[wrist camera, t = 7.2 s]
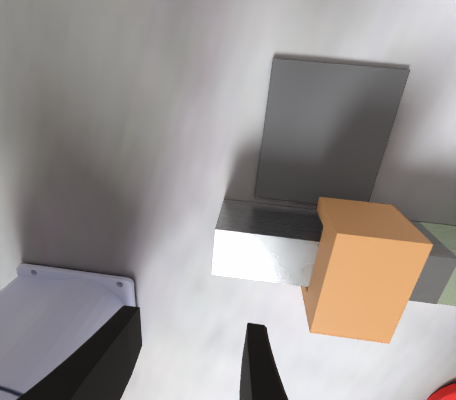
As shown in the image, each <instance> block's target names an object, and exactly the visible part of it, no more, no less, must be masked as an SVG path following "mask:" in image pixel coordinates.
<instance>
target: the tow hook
mask: <svg viewBox="0 0 456 400" xmlns="http://www.w3.org/2000/svg"><path fill="white" fill-rule="evenodd" d="M428 400H456V383H453V384H450V385H448V386H446V387H443V388H441V389H439V390H438V391H437V392H435V393H434V394H432V395H431V396H430V398H429V399H428Z"/></svg>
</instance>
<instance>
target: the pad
mask: <svg viewBox="0 0 456 400" xmlns="http://www.w3.org/2000/svg"><path fill="white" fill-rule="evenodd" d="M409 72H410V70H405V69H394V68H382V67H370V66H358V65H346V64H335V63H323V62H311V61H299V60H287V59H276V58H273V62H272V69H271V77H270V85H269V92H268V100H267V107H266V115H265V123H264V130H263V138H262V146H261V153H260V161H259V168H258V176H257V184H256V191H255V197H261V198H269V199H278V200H287V201H295V202H304V203H313V204H318V200H319V197H326V198H335V199H344V200H354V201H363V202H368V201H369V198H370V195H371V192H372V189H373V186H374V183H375V179H376V176H377V173H378V170H379V167H380V164H381V160H382V157H383V154H384V151H385V148H386V145H387V141H388V138H389V135H390V132H391V129H392V126H393V122H394V119H395V116H396V113H397V110H398V107H399V103H400V100H401V97H402V94H403V91H404V88H405V84H406V81H407V78H408V75H409Z"/></svg>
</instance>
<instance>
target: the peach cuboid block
mask: <svg viewBox="0 0 456 400" xmlns="http://www.w3.org/2000/svg"><path fill="white" fill-rule="evenodd" d="M316 210H317V212H318V215H319V217H320V219H321V222H322V224H323V231H322V235H321V239H320V243H319V247H318V251H317V255H316V259H315V263H314V267H313V271H312V275H311V279H310V283H309V287H305V286H301V289H302V294H303V300H304V305H305V310H306V315H307V320H308V325H309V330H310V333H316V334H323V335H331V336H338V337H345V338H352V339H359V340H367V341H374V342H381V343H388V344H389V343H390V341H391V338H392V336H393V334H394V332H395V329H396V327H397V325H398V323H399V320H400V318H401V316H402V314H403V311H404V309H405V307H406V305H407V302H408V300H409V298H410V296H411V294H412V291H413V289H414V287H415V285H416V282H417V280H418V278H419V276H420V273H421V271H422V269H423V267H424V264H425V262H426V260H427V258H428V255H429V253H430V251H431V249H432V246H433V244H432V243H431V242H430V241H429V240H428V239H427V238H426V237H425V236H424V235H423V234H422V233H421V232H420V231H419V230H418V229H417V228H416V227H415V226H414V225H413V224H412V223H411V222H410V221H409V220H408V219H407V218H406V217H405V216H404V215H403V214H402V213H401V212H400V211H399V210H398V209H397V208H396V207H395V206H393V205H390V204H381V203H372V202H363V201H354V200H344V199H335V198H326V197H319V200H318V205H317V209H316Z"/></svg>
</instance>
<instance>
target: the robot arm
mask: <svg viewBox="0 0 456 400" xmlns="http://www.w3.org/2000/svg"><path fill="white" fill-rule="evenodd" d="M16 270H17V274H18V277H17V278H15V279H14V280H13V281H12V282H11V283H9V284H8V285H7V286H6V287H5V288H3V289H2V290H1V291H0V400H120V399H121V397H122V395H123V392H124V390H125V388H126V386H127V384H128V382H129V379H130V377H131V375H132V373H133V370H134V367H135V364H136V361H137V359H138V356H139V353H140V350H141V347H142V336H141V321H140V307H136V305H135V291H134V282H133V280H132V279H130V278H127V277H120V276H113V275H105V274H98V273H91V272H83V271H76V270H69V269H61V268H54V267H47V266H39V265H32V264H25V263H22V264H20V265H19V266H17V268H16ZM119 282H121V283H122V284H121V283H119ZM240 400H288V398H287V395H286V393H285V390H284V387H283V384H282V382H281V379H280V376H279V373H278V370H277V367H276V364H275V361H274V357H273V354H272V350H271V347H270V343H269V338H268V334H267V328H266V327H265V326H264V325H260V324H253V323H248V324H247V330H246V337H245V344H244V350H243V357H242V367H241V380H240Z"/></svg>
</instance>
